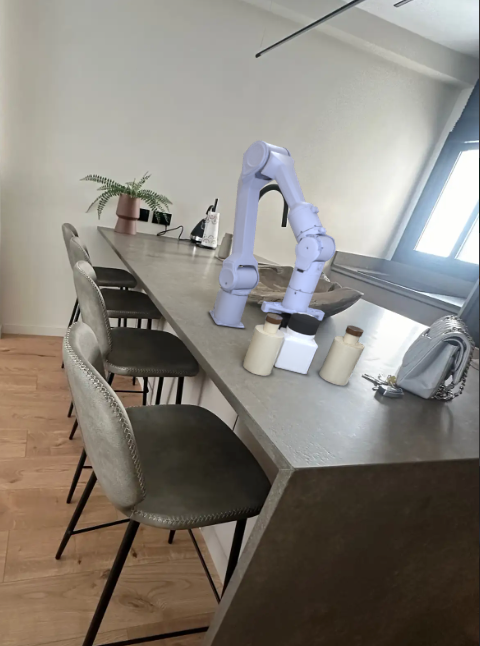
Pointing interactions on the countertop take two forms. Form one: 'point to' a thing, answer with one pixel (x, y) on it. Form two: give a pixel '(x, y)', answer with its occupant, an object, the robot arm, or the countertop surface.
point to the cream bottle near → (264, 346)
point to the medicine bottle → (298, 343)
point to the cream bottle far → (342, 357)
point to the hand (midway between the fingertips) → (281, 342)
